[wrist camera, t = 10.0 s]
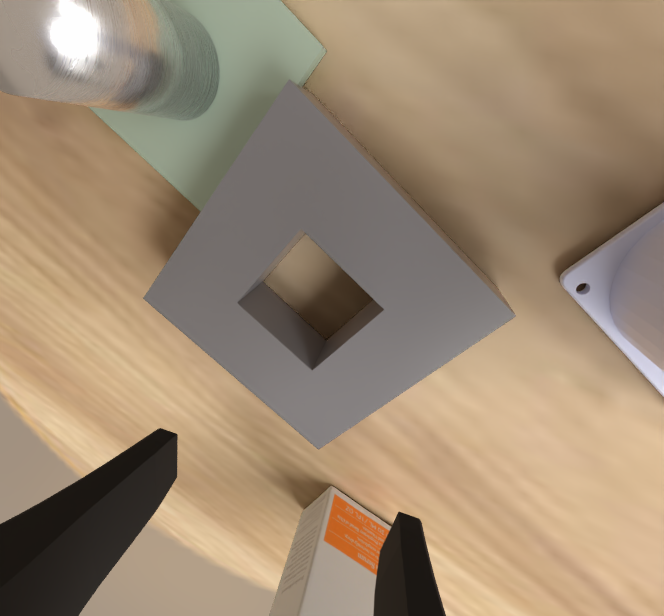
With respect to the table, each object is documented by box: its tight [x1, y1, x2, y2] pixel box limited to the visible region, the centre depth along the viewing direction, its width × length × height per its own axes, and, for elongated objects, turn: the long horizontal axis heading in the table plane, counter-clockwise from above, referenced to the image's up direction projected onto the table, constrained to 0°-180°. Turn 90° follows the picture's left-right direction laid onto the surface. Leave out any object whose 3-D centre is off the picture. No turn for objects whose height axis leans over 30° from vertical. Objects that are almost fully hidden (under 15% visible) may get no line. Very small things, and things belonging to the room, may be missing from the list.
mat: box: [89, 0, 327, 211], centre depth 15 cm, size 9×9×1 cm
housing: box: [143, 79, 516, 450], centre depth 16 cm, size 12×12×3 cm
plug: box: [0, 0, 220, 121], centre depth 11 cm, size 4×4×7 cm
